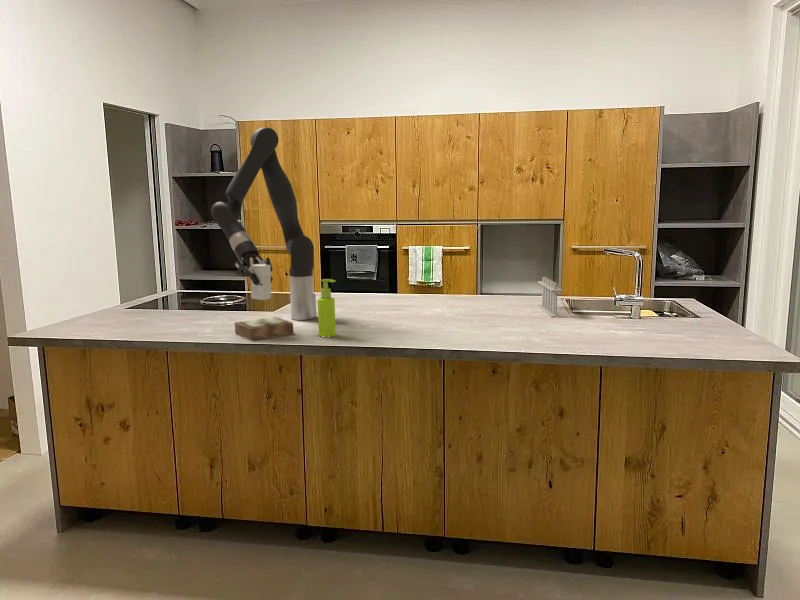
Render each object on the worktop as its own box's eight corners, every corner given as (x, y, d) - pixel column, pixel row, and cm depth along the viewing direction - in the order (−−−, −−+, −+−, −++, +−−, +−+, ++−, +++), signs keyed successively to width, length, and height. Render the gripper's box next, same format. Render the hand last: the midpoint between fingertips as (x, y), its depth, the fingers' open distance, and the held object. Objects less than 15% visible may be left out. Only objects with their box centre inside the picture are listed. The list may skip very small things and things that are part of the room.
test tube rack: (562, 317, 241) (563, 284, 239) (550, 317, 241) (551, 284, 239) (547, 306, 266) (547, 275, 263) (536, 306, 266) (537, 276, 263)
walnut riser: (276, 327, 231) (275, 315, 230) (293, 333, 220) (292, 321, 219) (235, 333, 221) (234, 321, 220) (251, 340, 210) (250, 327, 209)
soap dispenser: (331, 338, 211) (329, 280, 208) (315, 336, 215) (313, 279, 211) (341, 335, 216) (339, 278, 213) (325, 333, 220) (323, 277, 216)
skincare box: (250, 298, 218) (248, 264, 216) (260, 296, 222) (258, 263, 220) (263, 300, 215) (261, 265, 213) (272, 298, 218) (270, 264, 216)
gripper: (229, 241, 215) (250, 278, 209) (264, 238, 225) (285, 274, 219) (222, 255, 219) (242, 292, 213) (256, 252, 229) (277, 287, 223)
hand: (264, 282), depth 216 cm, fingers closed on skincare box, 4 cm apart
